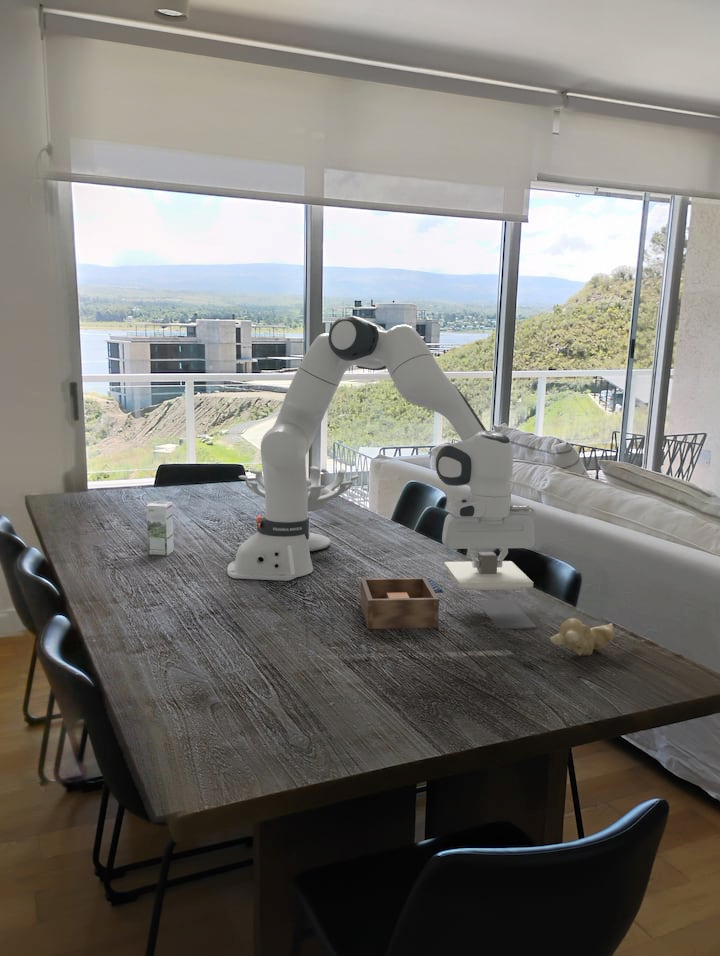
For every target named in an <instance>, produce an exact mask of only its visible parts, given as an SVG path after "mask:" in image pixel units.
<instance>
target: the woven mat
mask: <svg viewBox="0 0 720 956" xmlns="http://www.w3.org/2000/svg"><path fill="white" fill-rule="evenodd" d="M427 580H428V582H429V583H430V585H431V587H432V588H433V590H434V592H435V593H436V592H437V593H439V592H441V591H443V592H444V588H442V587H441V586H440V585H439V584H437V583H436V582H435V581H434V580H433V579H431V578H429V577H428V578H427Z"/></svg>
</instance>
